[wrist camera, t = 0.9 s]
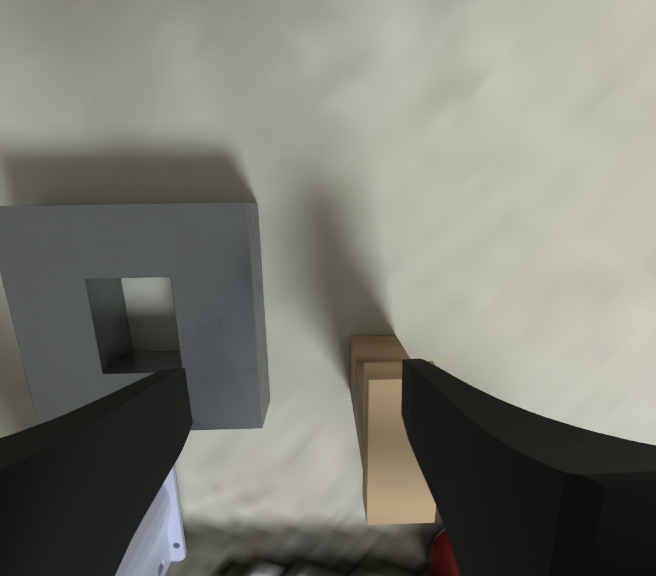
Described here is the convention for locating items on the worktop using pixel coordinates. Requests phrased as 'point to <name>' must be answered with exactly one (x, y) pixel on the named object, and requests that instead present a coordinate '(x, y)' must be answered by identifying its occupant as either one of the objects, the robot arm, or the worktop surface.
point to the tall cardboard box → (385, 435)
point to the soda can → (442, 556)
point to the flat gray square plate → (110, 313)
